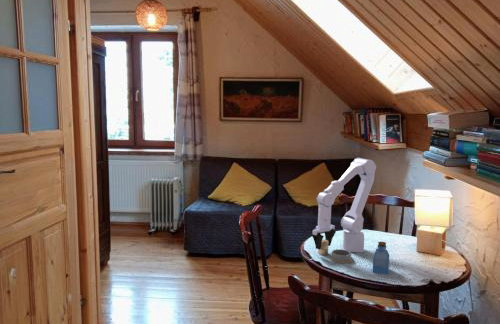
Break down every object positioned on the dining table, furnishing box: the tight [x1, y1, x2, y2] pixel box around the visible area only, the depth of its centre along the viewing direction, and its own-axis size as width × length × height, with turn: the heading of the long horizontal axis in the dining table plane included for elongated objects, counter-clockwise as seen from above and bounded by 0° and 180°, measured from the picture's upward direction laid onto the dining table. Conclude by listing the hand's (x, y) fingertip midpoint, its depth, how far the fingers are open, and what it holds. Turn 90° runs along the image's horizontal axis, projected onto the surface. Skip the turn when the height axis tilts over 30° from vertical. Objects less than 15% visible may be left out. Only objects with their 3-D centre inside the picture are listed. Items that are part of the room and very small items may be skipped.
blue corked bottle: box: [372, 241, 390, 275], centre depth 169 cm, size 6×6×12 cm
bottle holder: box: [329, 248, 354, 264], centre depth 182 cm, size 10×10×3 cm
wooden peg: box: [317, 239, 329, 256], centre depth 189 cm, size 4×4×6 cm
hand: (323, 247), depth 189 cm, fingers open, 7 cm apart
